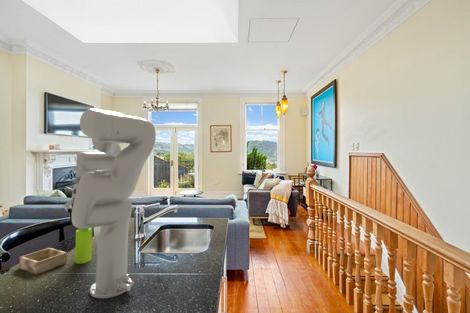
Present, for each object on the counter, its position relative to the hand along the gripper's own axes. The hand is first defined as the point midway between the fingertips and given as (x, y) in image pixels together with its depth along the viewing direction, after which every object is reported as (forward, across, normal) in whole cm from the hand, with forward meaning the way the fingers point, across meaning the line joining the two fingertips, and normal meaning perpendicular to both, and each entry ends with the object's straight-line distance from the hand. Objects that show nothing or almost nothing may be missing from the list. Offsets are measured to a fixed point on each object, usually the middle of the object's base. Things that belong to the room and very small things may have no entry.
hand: (85, 220), depth 101 cm
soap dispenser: (+17, 0, -1) cm, 17 cm away
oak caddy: (+17, -10, +9) cm, 22 cm away
